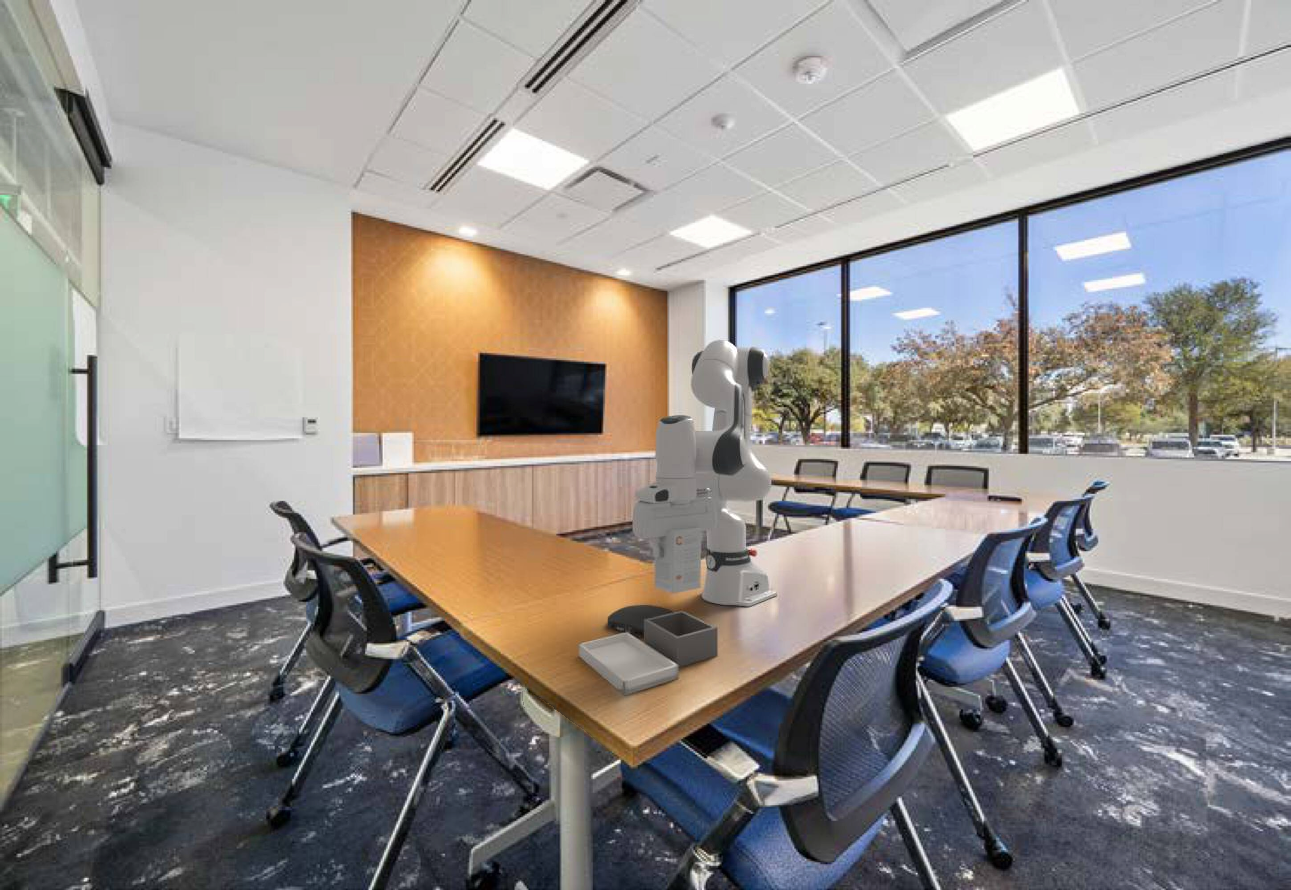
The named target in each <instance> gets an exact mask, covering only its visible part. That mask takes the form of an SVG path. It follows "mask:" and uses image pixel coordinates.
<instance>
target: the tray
mask: <svg viewBox="0 0 1291 890" xmlns="http://www.w3.org/2000/svg"><path fill="white" fill-rule="evenodd" d="M578 656H579V658H581V659H582V660H583V661H584V662H585V663H587V665H589V666H590V667H591V668H592V669H593V670H594V671H596V672H597V673H598V674H599V675H600V676H601V677H603V678H604V679H605V680H606V681H607V682H609V683H610V684H611V685H612V686H613V687H614V688H615V689H616V690H618V691H619V692H620V693H621V694H622V695H623V696H628V695H631V694H635V693H637V692H641V691H644V690H647V689H650V688H653V687H656V686H659V685H662V684H665V683H668V682H672V681H674V680H678V679H680V671H679V670H680V667H679V665H677V664H676V663H674V662H673V661H671V660H669V659H668V658H666V657H665V656H663V655H662V654H660V653H659V652H657V651H656V650H654V649H652V648H651V647H649V646H648V645H646V644H645V643H644V641H642V640H640V639H638V637H636V636H633V635H631V634H629V633H628V632H625V633H621V632H620V633H618V634H613V635H609V636H606V637H602V638H598V639H593V640H590V641H585V642H581V643H578Z"/></svg>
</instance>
